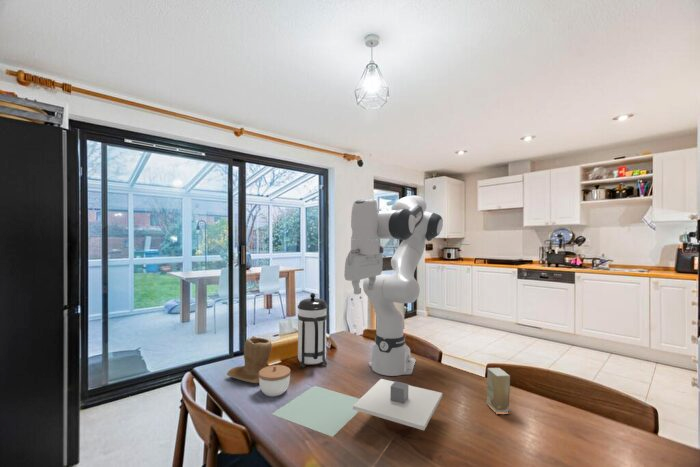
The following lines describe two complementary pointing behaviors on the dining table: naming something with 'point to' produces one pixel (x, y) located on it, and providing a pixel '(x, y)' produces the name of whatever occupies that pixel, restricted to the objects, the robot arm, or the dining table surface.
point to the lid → (399, 403)
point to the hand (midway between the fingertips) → (364, 291)
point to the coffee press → (312, 331)
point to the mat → (320, 410)
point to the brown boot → (252, 360)
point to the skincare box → (498, 389)
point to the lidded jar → (274, 380)
